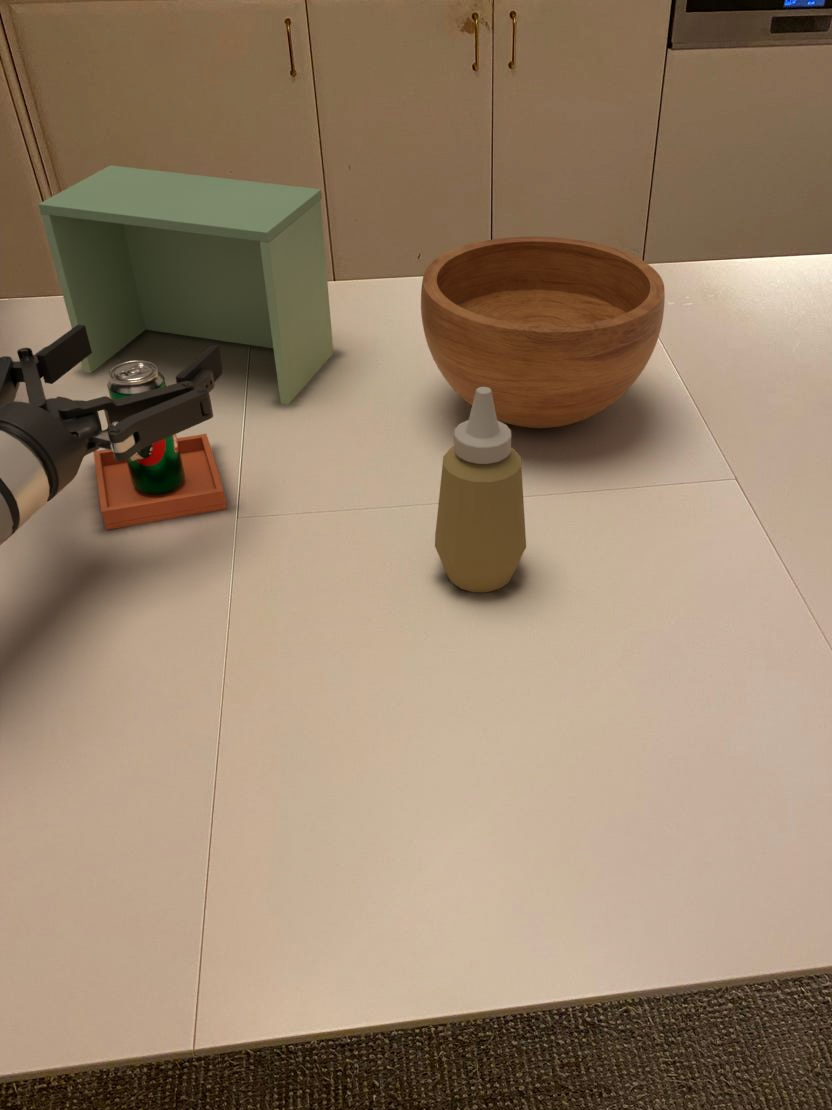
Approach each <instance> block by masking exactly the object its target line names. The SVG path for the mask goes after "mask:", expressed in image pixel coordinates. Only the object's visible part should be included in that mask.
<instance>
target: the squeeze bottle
mask: <svg viewBox="0 0 832 1110" xmlns="http://www.w3.org/2000/svg"><path fill="white" fill-rule="evenodd" d="M453 434H454V435H453V446H452V447H450V448H449V449H448V450H447V451H446V452H445V453H444V455H443V456H442V466H441V467H442V468H441V477H440V486H439V495H438V503H437V504H438V506H437V515H436V525H435V533H434V548H435V550H436V552H437V554H438V557H439V559H440V562H441V564H442V567H443V569H444V571H445V574H446V576H447V577H448V579H449V580H450V583H452V584H453V585H455V586H456V587H458V588H459V589H461V590H464V591H466V592H467V591H468V592H470V593H471V592H472V593H489V592H492V591H493V592H494V591H497V590H500V589H502V588H503V587H505V586H506V585H508V584H509V583H510V581H511V580H512V577H513V575H514V573H515V571H516V569H517V567H518V565H519V563H520V561H521V559H522V557H523V555H524V553H525V551H526V548H527V536H526V535H527V534H526V519H525V503H524V488H523V487H524V485H523V473H522V472H523V469H522V456H521V455H519V453H518V452H517V450H515V449H514V448H513V447H512V430H511V429H510V428H509V426H508V425H507V423H505V422H502V421H499V420H497V416H496V411H495V407H494V402H493V397H492V392H491V389H490V388H488V387H479V388H477V389H476V393H475V397H474V401H473V405H471V409H470V413H469V416H468V420H467V419H466V420H465V421H463V422H461V423H459V424H458V425H457V426H456V427H455V429H454V431H453Z"/></svg>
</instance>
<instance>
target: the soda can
mask: <svg viewBox="0 0 832 1110" xmlns="http://www.w3.org/2000/svg"><path fill="white" fill-rule="evenodd" d="M108 377H109V379H108V380H107V384H106V385H107V386H106V387H107V391H108V394H109V398H110V399H112V400H115V399H119V398H122V397H126V396H130V395H134V394H138V393H141V392H145V391H149V390H153V389H157V388H160V387H164V386H167V384H166V383H167V382H166V378H165V376H164V375H163V374H162V373H161V372H160V371H159V367H158V366H157V365H156V364H155V363H153V362H151V361H148V360H129V361H124V362H121V363H118V364H116V365H115V366H113V367H112V368H110V370H109V372H108ZM177 438H178V436H177V434H174V435H172V436H170V437H168V438H165V439H163V440H161V441H158V442H156V443H154V444H152V445H149V446H147V447H145V448H142V449H141V450H139V451H138V452H137V453H136V454H134V455H133V456H132V457H130V458H129V459H128V460H126V461H127V465H128V469H129V473H130V477H131V481H132V484H133V486H134V487H135V488H136V489H137V490H139V491H141V492H142V493H145V494H149V495H162V494H166V493H169V492H172V491H174V490H175V489H177V488H178V487H179V486H180V485H181V484H182V482H183V480H184V478H185V473H184V468H183V463H182V459H181V454H180V449H179V444H178V440H177Z"/></svg>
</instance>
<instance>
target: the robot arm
mask: <svg viewBox="0 0 832 1110" xmlns="http://www.w3.org/2000/svg"><path fill="white" fill-rule="evenodd" d="M91 353H92V350H91V347H90V343H89V339H88V335H87V331H86V327H85V326H84V325H77V326H75V327H74V328H72V327H71V329H70V330H68V331H66V332H65V333H64V334H63V335H61V336H59V338H56V340H55V341H53V342H52V343H50V344H49V345H47V346H44V347H43V348H42V349H41V350H39V351H38V352H35V354H34V353H33V350H32V348H30V347H21V348H19V349H18V350H16V354H17V357H18V359H19V360H18V361H17V360H16V361H13V357H12V356H9V355H8V356H7V355H5V356H4V355H3V356H0V546H2V544H4V543H5V542H6V541H8V539H9V538H11V537H12V536H13V535H14V534H16V531H17V530H19V529H20V528H21V527H22V526H23V525H24V524H25V523H26V522H27V521H29V520H30V519H31V518H32V517H33V516H34V515H35V514H36V513H37V512H38V511H40V510H41V509H42V508H43V507H44V506H45V505H46V504H47V503H48V502H50V501H51V500H52V499H54V498H55V497H56V496H57V495H58V494H59V493H61V491H63V490H64V489H65V488H66V487H67V486H68V485H69V484H70V483H71V482H72V481H73V480H74V479H75V478H76V476H77V474H78V473H79V470H80V467H81V464H82V462H83V460H84V458H85V457H86V456H88V455H89V454H91V453H92V454H93V452H94V451H99V450H101V449H102V450H105V449H107V450H111V451H113V454H114V458H115V460H117V461H125V460H128V459H129V458H130V457H132V456H133V455H134V454H136V453H137V452H138V451H139V450H141V449H142V448H145V447H147V446H149V445H152V444H154V443H156V442H158V441H161V440H163V439H165V438H168V437H170V436H172V435H174V434H176V435H177V434H179V433H181V432H183V431H186V430H188V429H190V428H193V427H194V426H197V425H199V424H202V423H204V422H206V421H208V420H211V419H213V418H214V412H213V406H212V401H211V400H212V399H211V395H210V393H211V392H212V391H213V390H214V389H215V382H217V380H218V379H219V378H220V377H221V376H223V374H224V370H223V364H222V358H221V357H222V356H221V352H220V346H219V345H216V344H210V345H209V346H208V347H207V348H206V349H204V350H203V351H202V352H201V353H200V354H199V355H198V356H197V357H195V359H193V360H192V361H191V362H190V363H189V364H188V365H187V366H186V367H185V368H183V370H181V372H179V373H178V374H177V375H176V376H175V380H176V383H172V384H169V385H166V386H164V387H160V388H157V389H153V390H149V391H145V392H141V393H138V394H134V395H130V396H126V397H122V398H119V399H115V400H112V399H110V396H108V395H107V396H100V397H96V398H93V399H89V400H81V399H79V400H76V399H70V398H68V397H66V396H65V397H64V396H57V397H52V398H46V393H45V390H44V386H43V383H42V380H41V379H43V381H44V384H50V385H53V384H54V383H56V382H57V381H58V380H59V379H61V378H62V377H63V376H65V374H67V373H68V372H70V371H71V370H72V369H74V367H76V366H77V365H79V363H81V361H82V360H84V359H85V358H86V357H87V356H89V355H90V354H91ZM21 383H24V384H25V390H26V394H27V399H28V402H26V401H15V400H16V397H17V394H18V391H19V387H20V384H21ZM99 411H103V412H104V415H105V419H106V423H107V428H105V429H103V427H102V422H101V419H100V415H99Z"/></svg>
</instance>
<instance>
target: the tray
mask: <svg viewBox="0 0 832 1110" xmlns="http://www.w3.org/2000/svg"><path fill="white" fill-rule="evenodd" d="M177 440H178V444H179V449H180V454H181V459H182V463H183V468H184V473H185V478H184V480H183V482H182V484H181V485H180V486H179V487H178V488H177V489H175V490H174V491H172V492H169V493H166V494H162V495H149V494H145V493H142V492H141V491H139V490H137V489H136V488H135V487H134V486H133V484H132V481H131V477H130V473H129V469H128V465H127V461H126V460H125V461H117V460H115V458H114V454H113V451H111V450H107V449H98V450H97V451H94V452H92V454H93V460H94V467H95V475H96V483H97V490H98V497H99V498H98V499H99V505H100V513H101V517H102V519H103V523H104V526H105V530H107V531H109V530H114V529H119V528H125V527H131V526H135V525H141V524H142V525H143V524H148V523H153V522H159V521H165V520H170V519H177V518H182V517H187V516H193V515H198V514H204V513H209V512H215V511H222V510H226V509H228V506H227V501H226V497H225V496H226V495H225V491H224V487H223V484H222V481H221V480H222V479H221V477H220V474H219V469H218V467H217V464H216V461H215V458H214V454H213V451H212V447H211V444H210V440H209V437H208V434H207V433H201V434H196V435H188V436H183V437H177Z"/></svg>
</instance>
